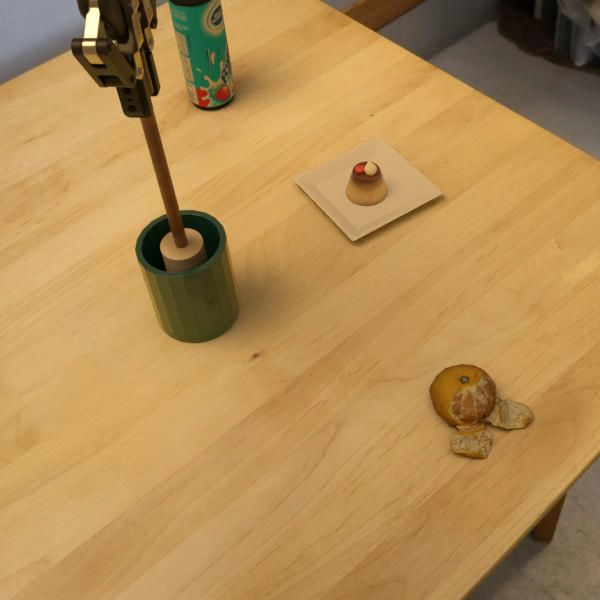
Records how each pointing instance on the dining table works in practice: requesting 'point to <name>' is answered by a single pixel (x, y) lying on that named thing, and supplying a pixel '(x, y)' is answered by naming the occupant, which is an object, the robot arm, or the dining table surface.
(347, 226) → the dessert
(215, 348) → the dining table surface
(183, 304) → the cup
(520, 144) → the dining table surface
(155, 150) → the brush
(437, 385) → the fruit
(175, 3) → the beverage can
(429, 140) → the dining table surface
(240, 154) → the dining table surface
